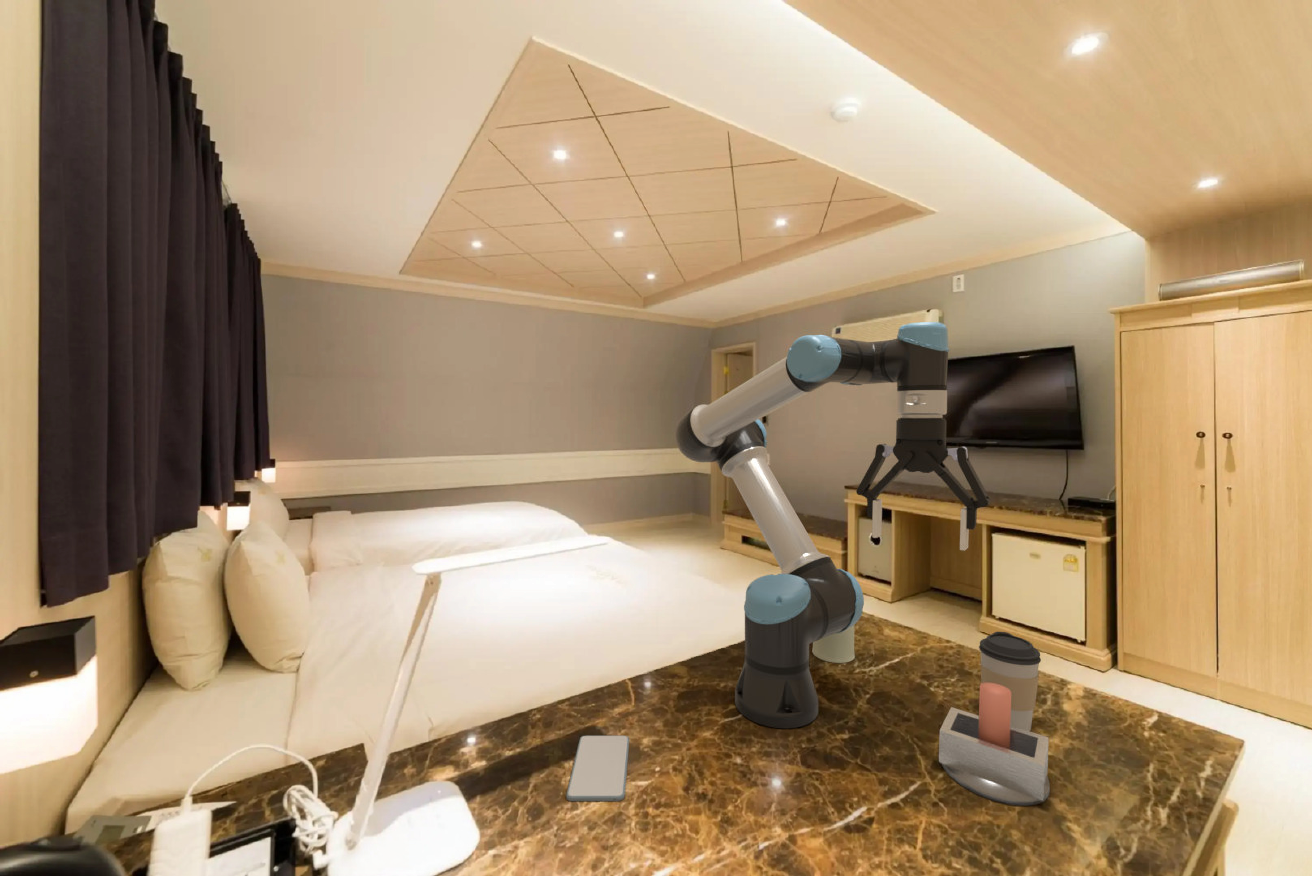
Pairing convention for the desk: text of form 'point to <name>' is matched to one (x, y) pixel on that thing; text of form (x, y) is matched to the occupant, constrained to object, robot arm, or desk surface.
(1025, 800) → the rosette bracket
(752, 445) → the robot arm
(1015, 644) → the coffee cup
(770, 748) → the desk surface
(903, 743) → the desk surface
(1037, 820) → the desk surface
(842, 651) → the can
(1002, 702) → the pin
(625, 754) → the smartphone
